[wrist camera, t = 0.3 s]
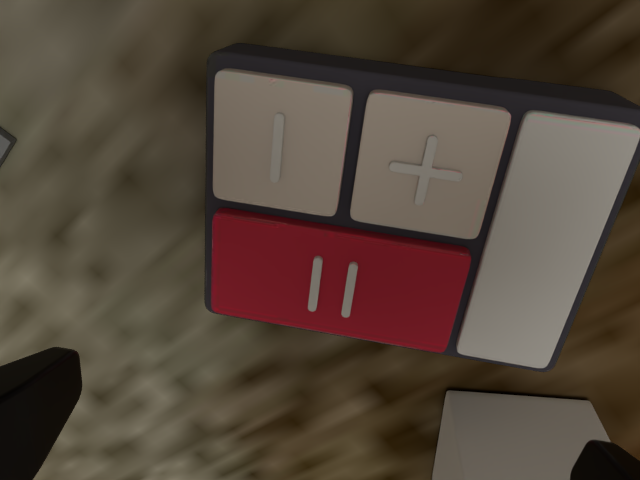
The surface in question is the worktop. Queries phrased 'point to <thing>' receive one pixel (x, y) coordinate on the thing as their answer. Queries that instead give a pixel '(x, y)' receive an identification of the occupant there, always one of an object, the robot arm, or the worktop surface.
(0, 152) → the mat
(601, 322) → the worktop surface
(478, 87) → the calculator
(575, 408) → the milk carton
